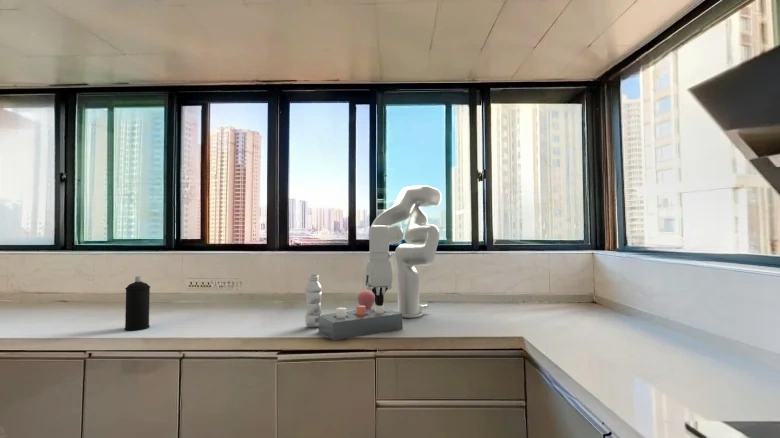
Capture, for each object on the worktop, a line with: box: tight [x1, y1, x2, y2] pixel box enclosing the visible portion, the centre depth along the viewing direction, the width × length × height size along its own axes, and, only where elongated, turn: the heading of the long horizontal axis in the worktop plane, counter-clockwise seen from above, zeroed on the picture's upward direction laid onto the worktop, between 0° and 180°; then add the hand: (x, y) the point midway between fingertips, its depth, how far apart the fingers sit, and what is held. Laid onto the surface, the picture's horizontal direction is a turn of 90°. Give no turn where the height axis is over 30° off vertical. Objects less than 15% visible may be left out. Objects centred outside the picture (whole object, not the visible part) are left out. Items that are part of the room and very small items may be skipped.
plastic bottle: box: [304, 274, 323, 328], centre depth 150 cm, size 6×7×20 cm
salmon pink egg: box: [355, 305, 366, 316], centre depth 144 cm, size 4×4×6 cm
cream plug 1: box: [335, 307, 347, 319], centre depth 140 cm, size 4×4×6 cm
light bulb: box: [357, 289, 375, 310], centre depth 164 cm, size 7×7×12 cm
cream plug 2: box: [374, 304, 385, 314], centre depth 148 cm, size 4×4×6 cm
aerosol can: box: [124, 275, 151, 332], centre depth 149 cm, size 8×8×20 cm
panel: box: [318, 307, 404, 341], centre depth 144 cm, size 28×14×6 cm, turn 121°
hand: (379, 305), depth 148 cm, fingers closed
